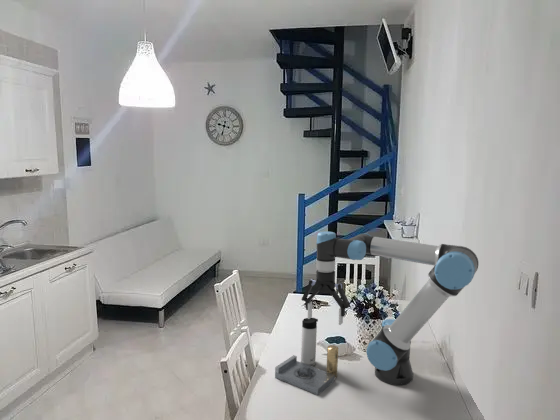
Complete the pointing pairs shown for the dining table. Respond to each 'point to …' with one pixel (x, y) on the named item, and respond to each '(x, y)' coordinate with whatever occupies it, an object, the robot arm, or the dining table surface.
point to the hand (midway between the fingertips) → (325, 320)
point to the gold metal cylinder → (332, 359)
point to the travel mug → (309, 341)
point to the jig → (294, 370)
